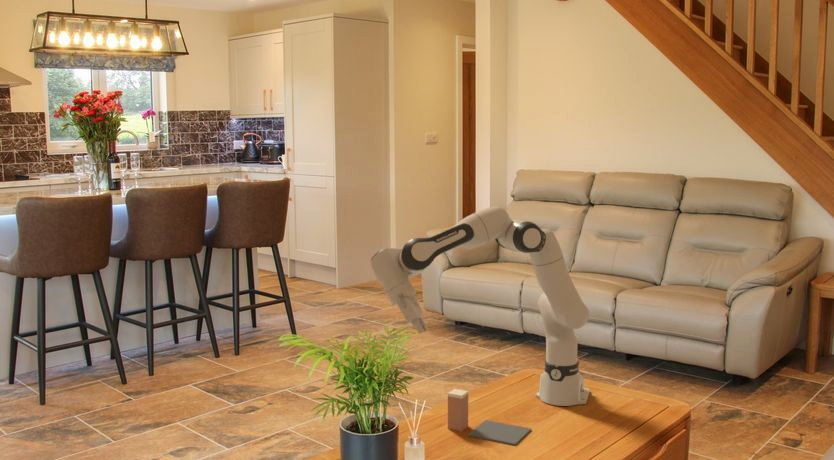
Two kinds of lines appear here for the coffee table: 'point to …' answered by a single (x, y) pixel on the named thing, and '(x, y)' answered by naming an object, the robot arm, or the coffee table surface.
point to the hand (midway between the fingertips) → (423, 332)
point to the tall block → (457, 409)
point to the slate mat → (500, 432)
